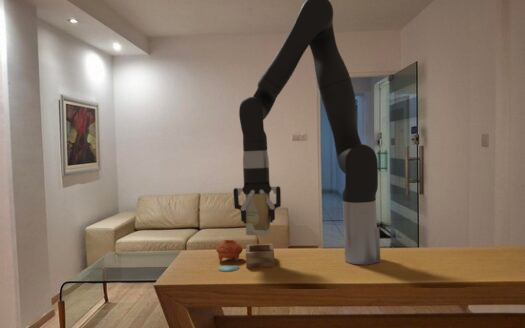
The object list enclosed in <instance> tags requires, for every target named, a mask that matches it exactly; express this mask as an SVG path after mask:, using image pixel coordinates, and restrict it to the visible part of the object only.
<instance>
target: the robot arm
mask: <svg viewBox="0 0 525 328" xmlns="http://www.w3.org/2000/svg"><path fill="white" fill-rule="evenodd" d="M333 20H334V8H333V5H332V3H331V2H330V0H305V1H304V3H303V4H302V6H301V8H300V11H299V13H298V15H297V17H296V19H295V22H294V24H293V26H292V28H291V30H290V31H289V33H288V35H287V37H286V39H285V40H284V42H283V44H282V45H281V47H280V49H279V50H278V51H277V53H276V55H275V56H274V58H273V59H272V61H271V62H270V63H269V65H268V66H267V68H266V69H265V71H264V73H263V74H262V75H261V77H260V78H259V81H258V83H257V89H256V91H255V92H254V94H253V95H252V96H248V97H245V98H244V99H243V100H242V101H241V103H239V104H240V105H239V109H238V113H239V114H238V115H239V123H240V128H241V132H242V133H241V134H242V148H243V152H242V153H243V154H242V166H243V167H242V170H243V186H242V187H239V188H237V187H234V188H233V190H232V191H233V207H234V209H235V210H239V211H240V221H241V222H243V224H245V225H246V207H247V205H248V203H249V202H250V200H251V198H252V196H253V195H254V194H265V193H267V194H269V193H271V192H273V193H274V195H275V203H273V202H272V200H271V199H269V198H268V197H267V204H268V205H269V207H270V223H273V222H274V221H275V219H276V217H275V216H276V215H275V214H276V212H275V211H276V209H277V208H280V207H281V206H282V204H281V203H282V201H281V197H282V196H281V192H282V191H281V187H280V186H279V185H277V186H271V184H270V161H269V154H268V141H267V139H268V137H267V133H266V132H265V127H264V120H265V119H266V118H267V117H268V115H269V114H270V112H271V110H272V109H273V106H274V105H275V102H276V101H277V100H276V99H277V98H278V96H279V95H280V94H281V92H282V91H283V90H284V87H285V86H286V85H287V83H288V82H289V80H290V79H291V77H292V76H293V73H294V72H295V71H296V68H297V66H298V65H299V63H300V60H301V59H302V57H303V55H304V54H305V52H306V50H307V48H308V47H309V48H310V52H311V54H312V58H313V63H314V71H315V77H316V81H317V87H318V90H319V94H320V97H321V101H322V104H323V107H324V110H325V113H326V116H327V117H326V118H327V120H328V124H329V126H330V129H331V132H332V136H333V142H334V147H335V154H336V159H337V164H338V167H339V169H340V170H341V171H342V172H343V173H344V174H345V176H344V177H345V178H344V180H345V183H344V184H345V185H344V189H343V190H342V193H341V197H342V214H343V215H342V218H343V220H342V221H343V243H344V246H343V247H344V260H345V262H347V263H348V264H354V265H373V264H376V263H381V261H382V260H381V242H380V241H381V238H380V236H381V235H380V228H379V227H377V225H378V224H377V223H378V222H377V220H378V219H377V201H376V199H377V198H376V197H377V195H376V194H377V193H378V192H377V191H378V189H379V188H378V187H379V185H378V184H379V182H378V181H379V179H378V178H379V170H378V169H379V165H378V159H377V158H378V157H377V154H376V151H375V150H374V149H373V148H372V147H371V146H369V145H367V144H362V142H361V141H362V140H361V138H360V136H359V132H358V129H357V123H356V121H357V120H356V115H357V113H356V111H357V110H356V105H357V103H356V95H355V91H354V86H353V83H352V80H351V77H350V74H349V73H350V72H349V70H348V68H347V66H346V64H345V61H344V59H343V58H342V56H341V54H340V51H339V49H338V45H337V42H336V37H335V31H334V24H333V22H334V21H333ZM242 192H243V194H244V196H246V195H247V194H249V195H248V197H247V198H246V197H245V200H244V201H243V203H242V205H241V204H240V201H239V196H241V195H242ZM249 197H250V198H249Z"/></svg>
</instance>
